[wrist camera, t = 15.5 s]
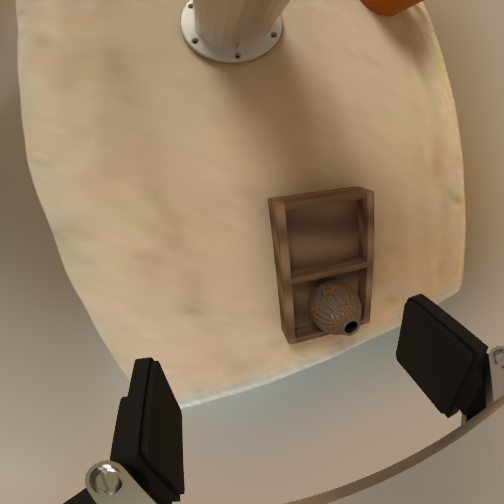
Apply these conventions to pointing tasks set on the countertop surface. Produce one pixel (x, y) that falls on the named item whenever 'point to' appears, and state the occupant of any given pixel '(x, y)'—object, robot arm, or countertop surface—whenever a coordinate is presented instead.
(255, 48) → the robot arm
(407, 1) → the mug
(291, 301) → the divided wooden tray
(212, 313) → the countertop surface
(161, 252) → the countertop surface
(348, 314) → the vase
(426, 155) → the countertop surface
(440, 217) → the countertop surface
